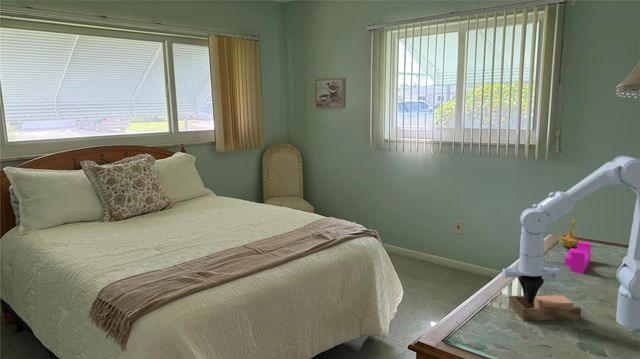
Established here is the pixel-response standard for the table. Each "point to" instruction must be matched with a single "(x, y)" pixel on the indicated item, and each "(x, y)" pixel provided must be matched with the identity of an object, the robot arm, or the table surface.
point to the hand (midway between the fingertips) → (528, 301)
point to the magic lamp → (569, 238)
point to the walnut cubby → (542, 310)
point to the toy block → (578, 257)
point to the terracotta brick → (552, 301)
